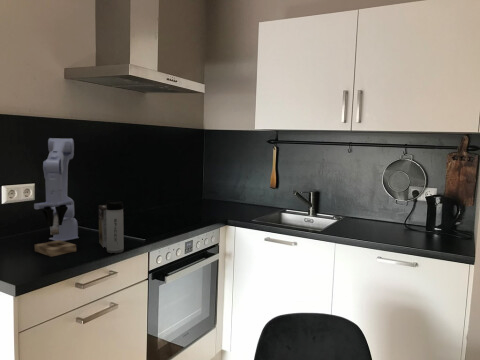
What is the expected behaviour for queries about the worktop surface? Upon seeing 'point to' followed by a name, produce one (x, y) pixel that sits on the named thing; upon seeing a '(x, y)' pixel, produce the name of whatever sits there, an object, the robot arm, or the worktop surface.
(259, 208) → the worktop surface
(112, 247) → the travel mug
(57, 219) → the metal peg
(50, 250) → the socket plate
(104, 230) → the coffee box
